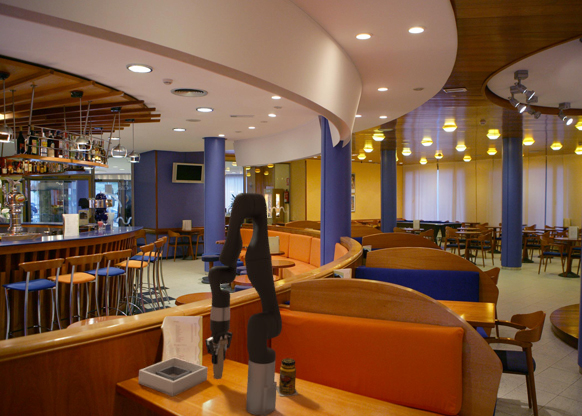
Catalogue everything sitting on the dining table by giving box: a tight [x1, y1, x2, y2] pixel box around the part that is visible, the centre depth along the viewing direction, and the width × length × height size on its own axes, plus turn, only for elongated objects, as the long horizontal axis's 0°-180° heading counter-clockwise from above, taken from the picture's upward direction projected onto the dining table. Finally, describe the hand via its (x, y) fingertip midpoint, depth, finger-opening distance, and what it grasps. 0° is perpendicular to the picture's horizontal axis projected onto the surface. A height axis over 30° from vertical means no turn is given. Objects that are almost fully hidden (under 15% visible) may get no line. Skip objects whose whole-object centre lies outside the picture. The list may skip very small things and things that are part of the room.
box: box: [137, 356, 209, 397], centre depth 166 cm, size 18×18×5 cm
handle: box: [212, 338, 228, 380], centre depth 166 cm, size 5×6×15 cm
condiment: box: [276, 357, 300, 397], centre depth 163 cm, size 7×8×12 cm
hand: (218, 361), depth 166 cm, fingers closed on handle, 4 cm apart
